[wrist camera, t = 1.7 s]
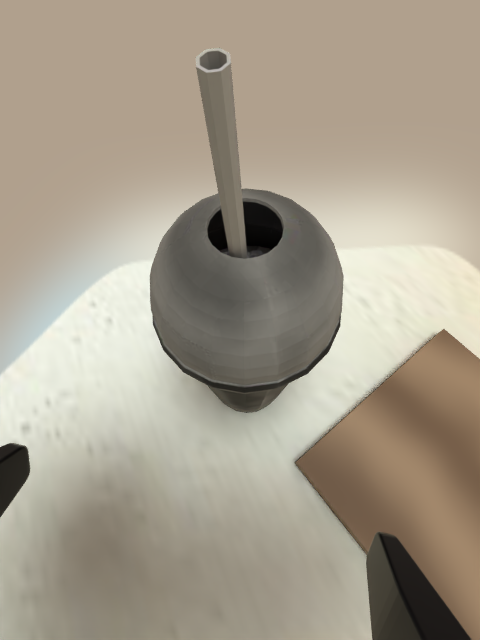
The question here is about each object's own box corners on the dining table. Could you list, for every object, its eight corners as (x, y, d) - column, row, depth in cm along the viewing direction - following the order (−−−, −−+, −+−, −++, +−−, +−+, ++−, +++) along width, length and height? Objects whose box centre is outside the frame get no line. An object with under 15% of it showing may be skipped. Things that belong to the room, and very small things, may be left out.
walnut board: (494, 716, 15) (509, 731, 15) (294, 462, 20) (296, 462, 20) (637, 507, 19) (656, 508, 18) (436, 334, 24) (443, 328, 23)
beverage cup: (310, 349, 24) (503, -56, 6) (283, 450, 21) (503, 272, 3) (217, 320, 25) (136, -89, 7) (178, 412, 22) (-136, 117, 4)
